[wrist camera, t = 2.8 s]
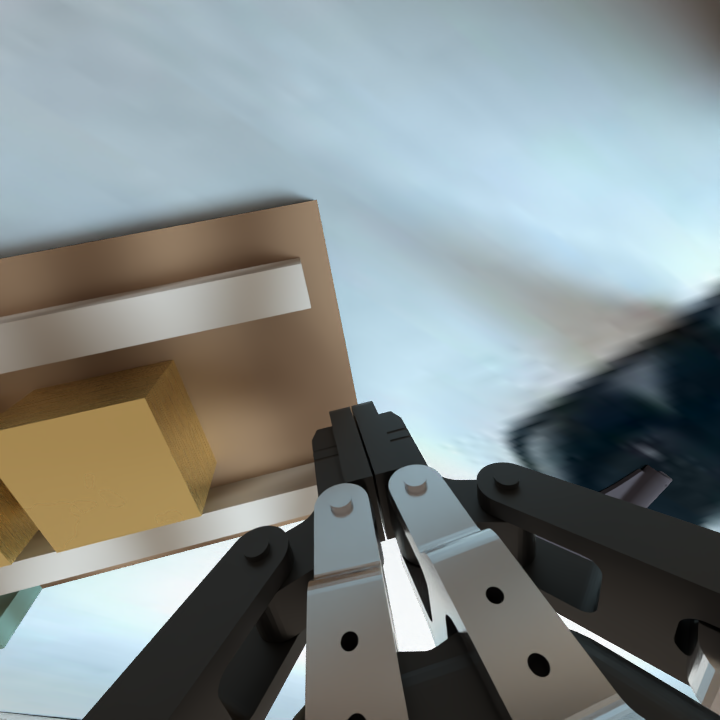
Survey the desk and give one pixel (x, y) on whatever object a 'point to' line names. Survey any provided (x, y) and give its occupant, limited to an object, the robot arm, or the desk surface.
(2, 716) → the light bulb box
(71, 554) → the slot board
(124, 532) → the block
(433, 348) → the desk surface
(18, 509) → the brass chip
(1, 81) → the desk surface
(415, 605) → the desk surface
